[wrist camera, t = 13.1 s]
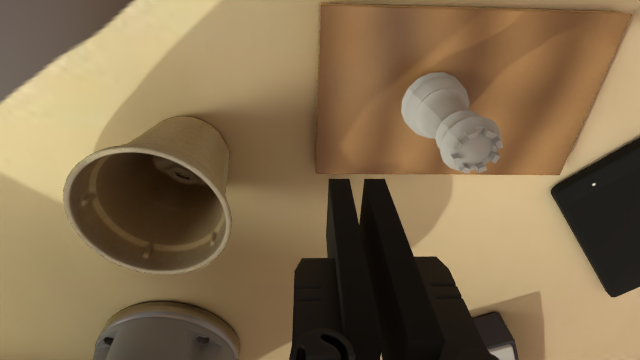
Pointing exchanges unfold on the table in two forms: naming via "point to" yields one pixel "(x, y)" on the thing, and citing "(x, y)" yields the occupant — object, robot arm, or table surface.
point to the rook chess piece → (451, 122)
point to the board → (469, 69)
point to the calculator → (496, 336)
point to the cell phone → (607, 216)
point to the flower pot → (154, 199)
